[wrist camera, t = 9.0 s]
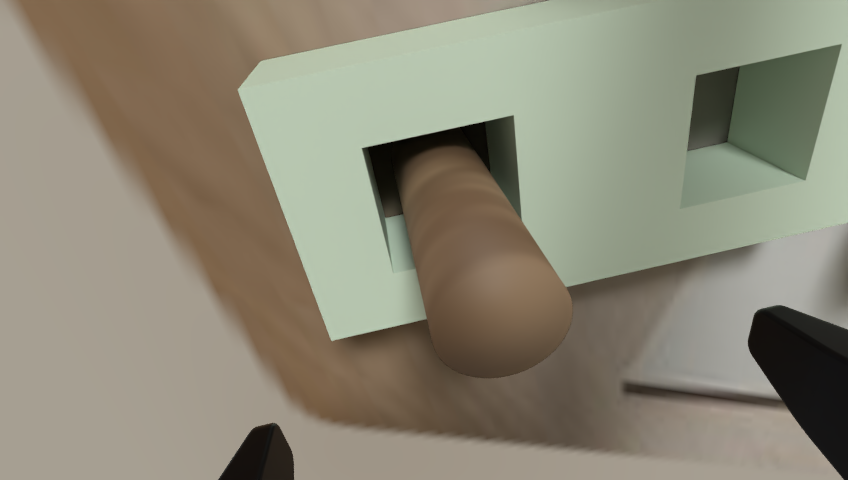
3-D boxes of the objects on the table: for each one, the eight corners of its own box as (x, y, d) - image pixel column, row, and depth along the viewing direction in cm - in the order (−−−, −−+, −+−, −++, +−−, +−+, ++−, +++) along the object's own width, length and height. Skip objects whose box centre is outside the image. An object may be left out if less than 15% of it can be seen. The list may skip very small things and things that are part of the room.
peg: (463, 108, 18) (571, 249, 9) (473, 181, 19) (573, 360, 11) (383, 125, 18) (419, 284, 9) (399, 197, 19) (442, 390, 11)
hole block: (834, -60, 17) (961, -64, 13) (779, 177, 21) (861, 219, 18) (260, 61, 16) (237, 90, 13) (333, 277, 21) (331, 340, 17)
